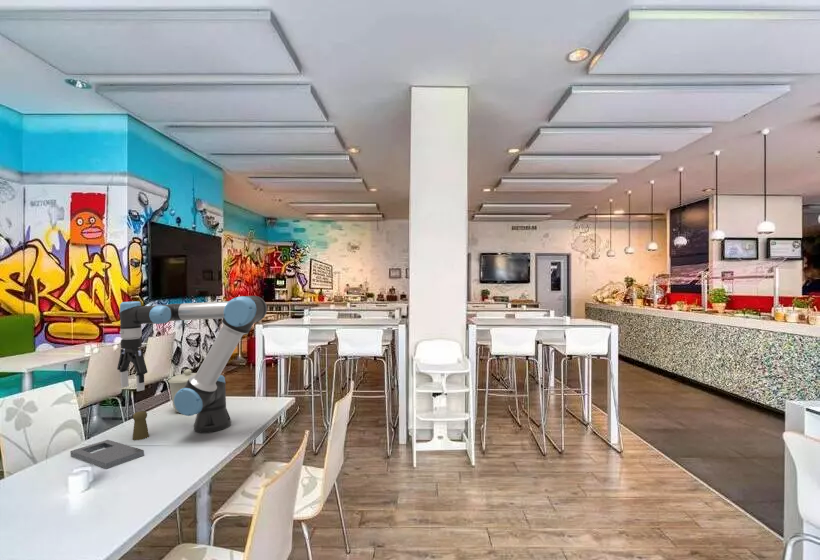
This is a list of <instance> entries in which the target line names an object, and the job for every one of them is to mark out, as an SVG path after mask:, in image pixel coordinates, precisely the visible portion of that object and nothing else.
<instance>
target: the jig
mask: <svg viewBox="0 0 820 560" xmlns="http://www.w3.org/2000/svg"><path fill="white" fill-rule="evenodd" d="M144 456H145V450H144V449H141V448H138V447H134V446H132V445H127V444H124V443H121V442H117V441H114V440H110V439H106V440H103V441H102V440H101V441H99V442H96V443H95V442H94V443H92V444H89V445H86V446H83V447H79V448H76V449H73V450H70V457H71V458H75V459H77V460H79V461H83V462H86V463H88V464H92V465H93V464H94V466H97V467H99V468H101V469H102V468H103V469H104V470H105V469H106V470H107V469H110V468H113V467H116V466H119V465H122V464H124V463H127V462H131V461H132V460H136V459H138V458H139V459H140V457H144Z"/></svg>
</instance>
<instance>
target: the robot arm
mask: <svg viewBox="0 0 820 560" xmlns="http://www.w3.org/2000/svg"><path fill="white" fill-rule="evenodd" d="M267 313H268V306H267V303H266V302H265V300H264V299H263V298H262V297H260V296H257V295H248V296H246V295H245V296H243V295H242V296H237V297H236V296H235V297H234V298H232V299H230V300H228V301H227V300H224V301H211V302H210V301H207V302H190V303H189V302H186V303H185V302H184V303H170V304H160V305H144V306H143V305H142V304H141V301H122V302H121V303H120V304H119V313H118V314H119V323H120V327H119V328H120V331H119V334H120V356H119V358H118V364H117V371H118V372H120V388H127V387H128V388H129V366H130V364H131V363H132V364H133V367H134V369H135V371H136V373H135V376H136V377H135V378H136V392H141V391H145V375H146V374H147V373H148V369H147V365H146V362H145V356H144V351H143V349H141V350H139V348H141V347H142V346H143V341H142V340H143V339H142V336H143V335H142V334H143V332H142V329H143V328H142V325H144V324H145V325H146V324H147V325H148V324H149V325H151V324H152V325H153V324H157V325H161V324H166V323H168V322H176V321H178V322H179V321H193V320H194V321H196V320H216V319H217V320H221V324H222V327H221V329H220V331H219V332H218V335H217V336H216V338H215V340H214V341H213V343H212V345H211V347H210V348H209V351H208V352H207V354H206V356H205V357H204V360H203V361H202V363H201V365H200V366H199V368H198V370H197V372H195V373H196V375H193V376H191V377H190V378H189V380H188V381H187V383H186V385H185V387H184V388H182V389H180V390H179V391H178V392H177V393H176V394H175V397H174V405H175V407H176V409H177V411H178V412H180V413H179V414H181V415H182V416H183V415H184V416H186V417H189V416H190V417H191V416H195V415H196V417H195V421H194V423H193V431H194V432H196V433H201V434H202V433H212V432H218V431H222V430H225V429H227V428H229V427H230V426H231V424H232V420H231V416H230V413H229V412H228V409H227V395H226V394H227V393H226V377H225V376H224V375H222V372H223V370H224V369H225V367H226V365H227V364H228V362H229V360H230V359H231V356H232V355H233V353H234V351H235V350H236V348H237V346H238V344H239V343H240V341H241V339H242V337H244V335H247V334H249V332H250V331H251V329H252V327H253V325H254V324H255V323H258V322H260V321H261V320H263V319H264V318H265V316H266V315H267ZM178 412H177V413H178Z"/></svg>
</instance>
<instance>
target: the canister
mask: <svg viewBox="0 0 820 560" xmlns="http://www.w3.org/2000/svg"><path fill="white" fill-rule="evenodd" d="M196 373H197V372H192V370H191V369H190V368H187V369H184V370H183V373H181V374H177V375H175V376H172V377H171V378H170V379H168V380H167V383H169V390H170V395H171V401H172V406H173V409H174V411H175V412H176V413H179V414H181V413H180V412H178V411H177V409H176V407H175V405H174V397H175V394H176V393H177V392H178V391H179V390H180V389H182V388H184V387H185V385H186V383H187V381H188V380H189V378H190V377H191V376H193V375H196Z"/></svg>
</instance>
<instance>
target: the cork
mask: <svg viewBox="0 0 820 560" xmlns="http://www.w3.org/2000/svg"><path fill="white" fill-rule="evenodd" d="M147 418H148V413H147V411H145V410H140V411H136V412H134V413H133V415H132V419H133V423H134V424H133V432H132V440H133V441H141V440H146V439H148V438H149V437H150V434H149V429H148V424H147ZM147 437H148V438H147ZM145 438H146V439H145Z"/></svg>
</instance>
